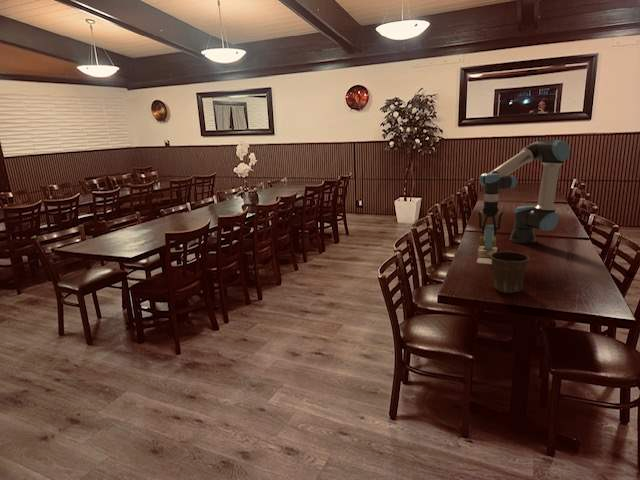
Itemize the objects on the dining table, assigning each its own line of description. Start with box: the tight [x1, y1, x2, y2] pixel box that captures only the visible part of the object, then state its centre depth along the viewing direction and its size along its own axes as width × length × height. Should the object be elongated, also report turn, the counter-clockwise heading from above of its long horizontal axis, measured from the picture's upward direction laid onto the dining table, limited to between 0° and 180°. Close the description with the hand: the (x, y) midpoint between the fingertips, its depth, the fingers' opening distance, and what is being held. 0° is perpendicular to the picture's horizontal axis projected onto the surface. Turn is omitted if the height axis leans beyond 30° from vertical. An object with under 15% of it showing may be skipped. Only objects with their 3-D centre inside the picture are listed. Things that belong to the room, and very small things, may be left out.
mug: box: [479, 235, 497, 247], centre depth 257 cm, size 12×10×10 cm
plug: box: [485, 224, 494, 250], centre depth 245 cm, size 4×4×14 cm
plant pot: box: [490, 251, 530, 294], centre depth 195 cm, size 16×16×16 cm
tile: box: [476, 257, 493, 266], centre depth 236 cm, size 9×9×1 cm
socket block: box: [477, 245, 498, 259], centre depth 247 cm, size 10×10×4 cm
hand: (488, 240), depth 245 cm, fingers closed on plug, 4 cm apart
